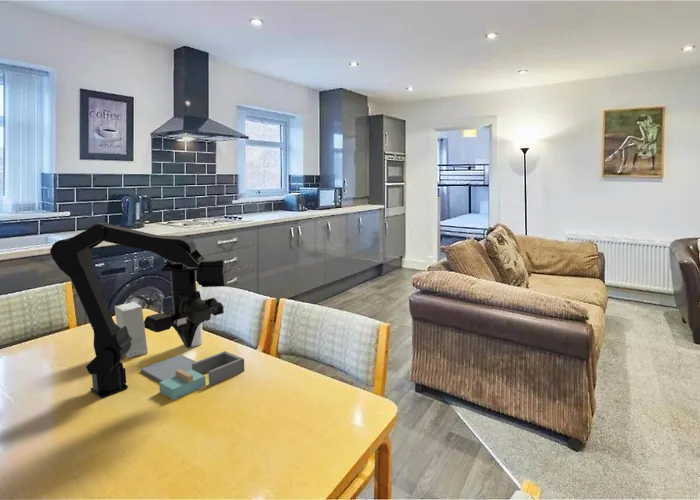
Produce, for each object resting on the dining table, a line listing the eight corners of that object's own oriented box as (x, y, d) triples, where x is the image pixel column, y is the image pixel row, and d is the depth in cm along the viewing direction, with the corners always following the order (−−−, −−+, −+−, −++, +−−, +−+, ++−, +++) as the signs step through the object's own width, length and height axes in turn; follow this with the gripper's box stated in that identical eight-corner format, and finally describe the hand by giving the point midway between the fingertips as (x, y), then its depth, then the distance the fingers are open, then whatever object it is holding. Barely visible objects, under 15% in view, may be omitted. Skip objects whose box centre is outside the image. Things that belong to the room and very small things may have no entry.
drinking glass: (190, 350, 132) (187, 303, 130) (178, 345, 136) (174, 299, 134) (209, 343, 138) (206, 298, 135) (196, 338, 142) (194, 295, 139)
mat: (163, 383, 111) (163, 381, 111) (141, 371, 118) (140, 368, 118) (204, 367, 120) (204, 365, 120) (180, 357, 127) (180, 354, 127)
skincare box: (148, 353, 130) (144, 306, 127) (126, 359, 126) (122, 310, 123) (138, 345, 136) (134, 300, 133) (118, 351, 132) (113, 304, 129)
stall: (211, 385, 110) (210, 372, 109) (192, 375, 115) (191, 363, 115) (244, 370, 118) (243, 358, 118) (225, 362, 124) (224, 351, 123)
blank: (173, 401, 103) (171, 383, 102) (160, 393, 106) (158, 376, 106) (205, 386, 110) (204, 370, 109) (192, 380, 114) (191, 364, 113)
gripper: (165, 301, 94) (170, 368, 96) (235, 285, 108) (238, 343, 111) (140, 293, 100) (146, 356, 103) (209, 278, 115) (212, 334, 117)
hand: (188, 347), depth 108 cm, fingers closed
